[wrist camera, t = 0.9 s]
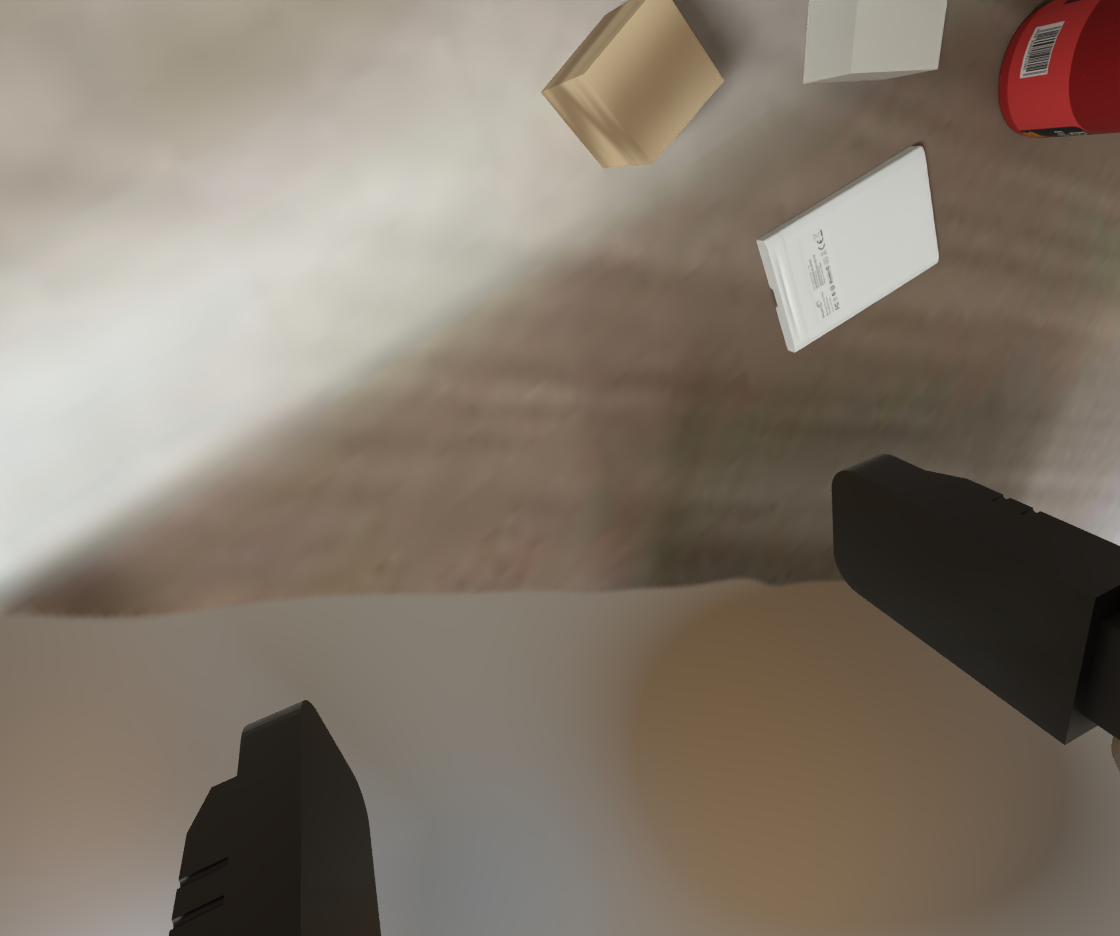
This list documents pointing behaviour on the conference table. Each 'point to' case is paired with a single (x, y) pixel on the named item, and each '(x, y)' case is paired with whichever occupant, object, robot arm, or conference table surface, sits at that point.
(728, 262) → the conference table surface
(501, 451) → the conference table surface
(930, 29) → the pale grey block
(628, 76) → the oak block
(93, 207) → the conference table surface
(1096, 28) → the canned food
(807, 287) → the external hard drive
